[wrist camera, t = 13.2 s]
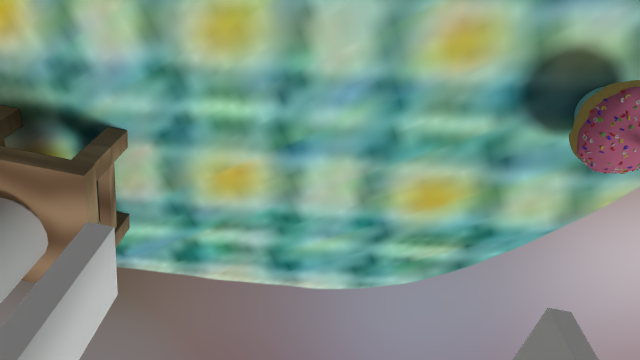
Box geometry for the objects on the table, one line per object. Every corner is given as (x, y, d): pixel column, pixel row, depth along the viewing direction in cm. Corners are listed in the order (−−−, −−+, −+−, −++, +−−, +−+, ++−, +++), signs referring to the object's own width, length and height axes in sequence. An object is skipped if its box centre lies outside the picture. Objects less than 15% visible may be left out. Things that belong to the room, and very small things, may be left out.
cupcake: (666, 86, 42) (773, 143, 31) (606, 160, 46) (682, 232, 35) (588, 53, 40) (672, 101, 30) (533, 132, 45) (591, 198, 34)
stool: (-7, 99, 45) (-89, 142, 37) (132, 127, 46) (83, 176, 38) (14, 209, 52) (-51, 267, 44) (133, 231, 53) (93, 292, 45)
